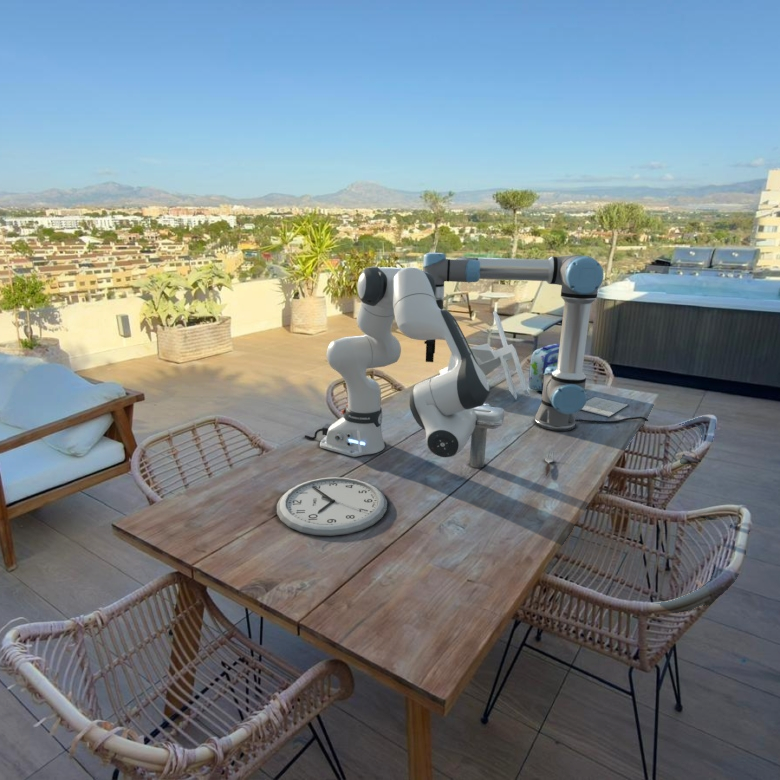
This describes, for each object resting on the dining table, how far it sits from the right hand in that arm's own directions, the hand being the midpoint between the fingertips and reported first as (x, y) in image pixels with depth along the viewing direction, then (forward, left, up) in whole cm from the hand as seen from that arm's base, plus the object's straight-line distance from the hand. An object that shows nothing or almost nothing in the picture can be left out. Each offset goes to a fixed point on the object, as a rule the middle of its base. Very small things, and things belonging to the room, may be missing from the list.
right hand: (430, 357), depth 190 cm
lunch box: (-55, -62, -28) cm, 88 cm away
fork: (-40, +27, -28) cm, 56 cm away
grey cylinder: (-17, +29, -28) cm, 44 cm away
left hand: (-13, +49, -1) cm, 51 cm away
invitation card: (-73, -38, -28) cm, 87 cm away
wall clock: (+23, +61, -28) cm, 71 cm away
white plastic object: (-22, -50, -28) cm, 61 cm away
